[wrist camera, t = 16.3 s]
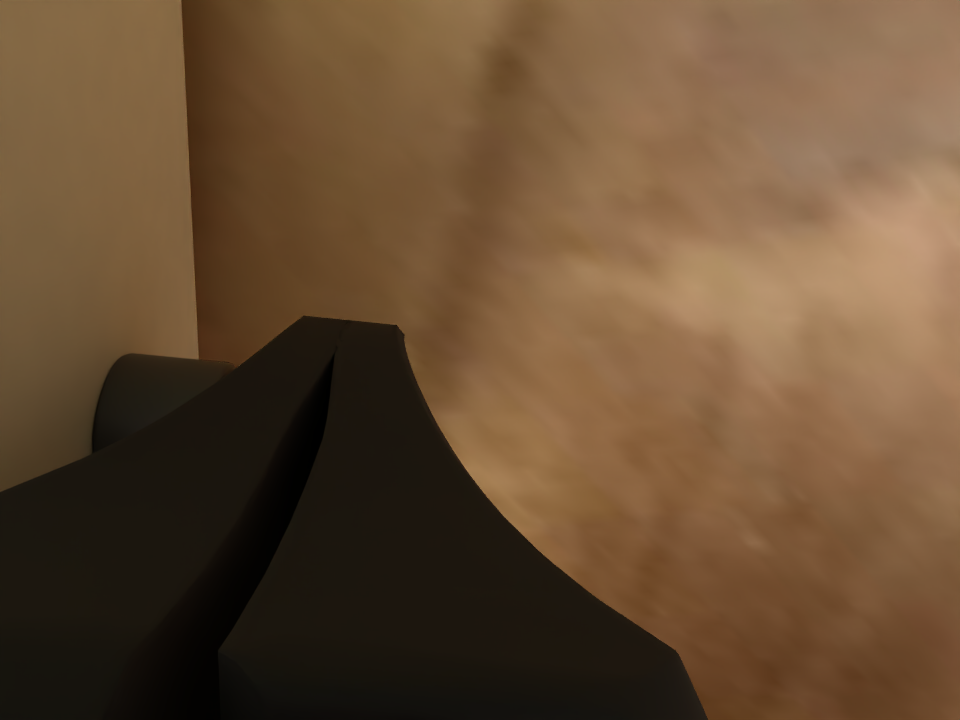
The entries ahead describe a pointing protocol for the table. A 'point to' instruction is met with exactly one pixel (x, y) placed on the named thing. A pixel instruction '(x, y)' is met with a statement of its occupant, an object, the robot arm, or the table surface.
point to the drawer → (93, 229)
